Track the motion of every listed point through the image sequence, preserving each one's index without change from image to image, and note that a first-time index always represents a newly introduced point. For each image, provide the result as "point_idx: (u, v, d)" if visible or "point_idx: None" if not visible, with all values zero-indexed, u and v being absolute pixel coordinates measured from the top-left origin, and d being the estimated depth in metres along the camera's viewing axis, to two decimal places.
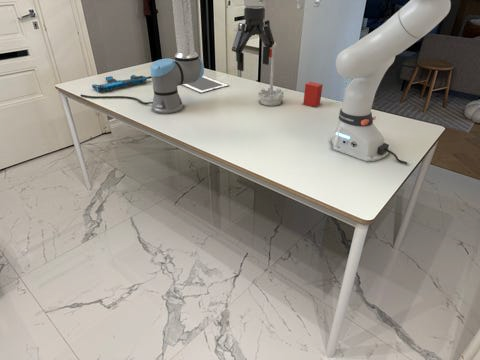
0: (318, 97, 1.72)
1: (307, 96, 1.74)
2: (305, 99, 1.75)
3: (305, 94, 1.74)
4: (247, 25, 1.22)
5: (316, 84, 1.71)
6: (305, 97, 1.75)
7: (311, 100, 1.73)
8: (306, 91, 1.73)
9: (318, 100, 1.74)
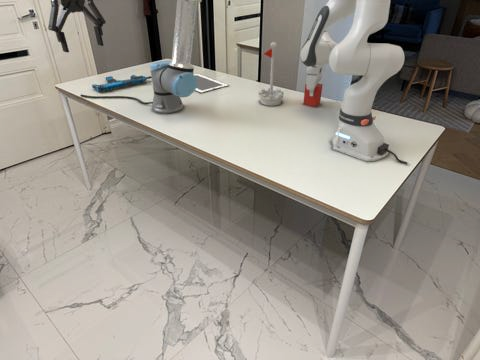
0: (318, 97, 1.72)
1: (307, 96, 1.74)
2: (305, 99, 1.75)
3: (305, 94, 1.74)
4: None
5: None
6: (305, 97, 1.75)
7: (311, 100, 1.73)
8: (306, 91, 1.73)
9: (318, 100, 1.74)
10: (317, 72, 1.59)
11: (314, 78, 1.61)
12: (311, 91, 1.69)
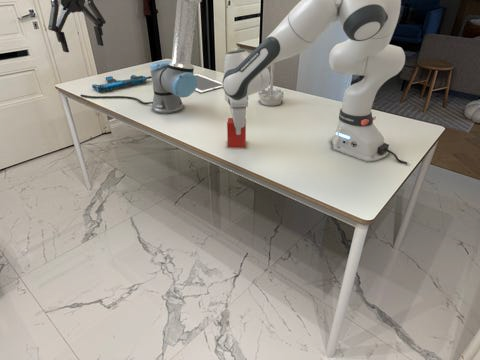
0: (245, 135, 1.35)
1: (232, 137, 1.34)
2: (230, 141, 1.35)
3: (229, 135, 1.34)
4: None
5: None
6: (229, 138, 1.35)
7: (238, 141, 1.35)
8: (230, 131, 1.33)
9: (245, 138, 1.37)
10: (245, 104, 1.21)
11: (243, 112, 1.22)
12: (238, 129, 1.29)
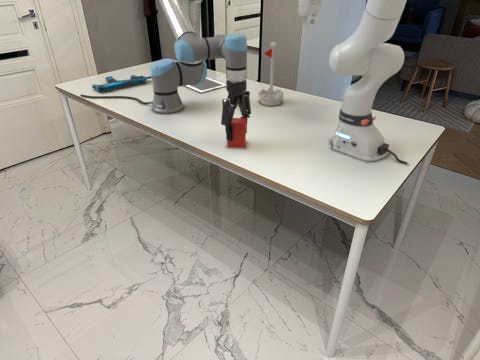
0: (245, 135, 1.35)
1: None
2: (230, 141, 1.35)
3: None
4: None
5: (239, 120, 1.33)
6: None
7: (238, 141, 1.35)
8: None
9: (245, 138, 1.37)
10: None
11: (307, 1, 1.38)
12: (304, 20, 1.45)
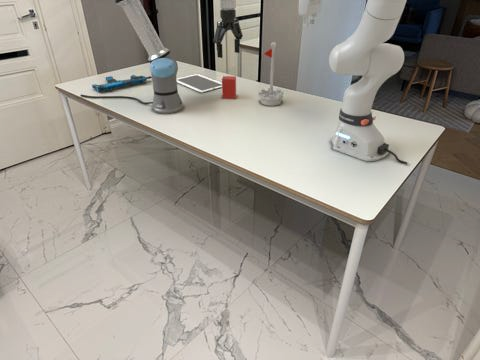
0: (235, 89, 1.84)
1: (226, 90, 1.82)
2: (224, 93, 1.83)
3: (223, 88, 1.82)
4: None
5: (231, 77, 1.81)
6: (224, 91, 1.83)
7: (230, 93, 1.83)
8: (224, 85, 1.81)
9: (235, 92, 1.85)
10: None
11: (307, 0, 1.38)
12: (304, 20, 1.45)
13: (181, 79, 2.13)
